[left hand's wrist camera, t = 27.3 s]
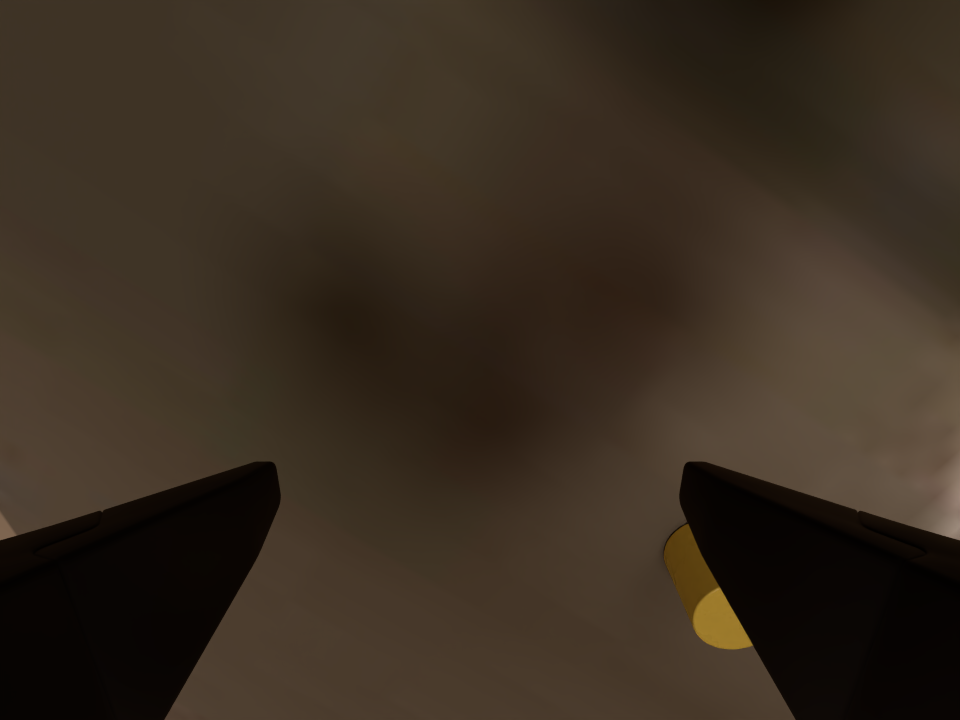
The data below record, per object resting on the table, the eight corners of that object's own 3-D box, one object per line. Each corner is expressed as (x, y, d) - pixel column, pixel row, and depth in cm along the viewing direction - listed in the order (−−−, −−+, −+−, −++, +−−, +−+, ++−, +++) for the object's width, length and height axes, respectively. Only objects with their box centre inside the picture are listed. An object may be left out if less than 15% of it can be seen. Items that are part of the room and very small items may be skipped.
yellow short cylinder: (726, 505, 27) (768, 567, 23) (754, 561, 28) (799, 628, 24) (650, 539, 27) (678, 604, 24) (682, 591, 29) (713, 661, 25)
